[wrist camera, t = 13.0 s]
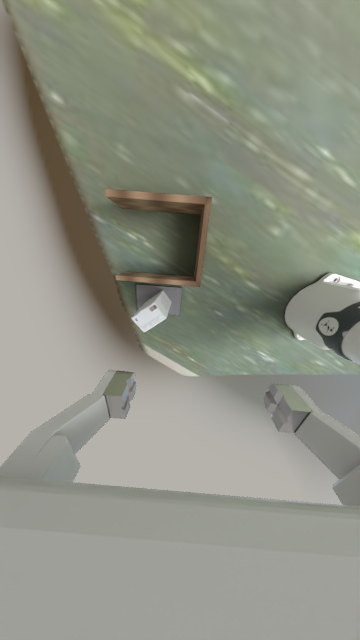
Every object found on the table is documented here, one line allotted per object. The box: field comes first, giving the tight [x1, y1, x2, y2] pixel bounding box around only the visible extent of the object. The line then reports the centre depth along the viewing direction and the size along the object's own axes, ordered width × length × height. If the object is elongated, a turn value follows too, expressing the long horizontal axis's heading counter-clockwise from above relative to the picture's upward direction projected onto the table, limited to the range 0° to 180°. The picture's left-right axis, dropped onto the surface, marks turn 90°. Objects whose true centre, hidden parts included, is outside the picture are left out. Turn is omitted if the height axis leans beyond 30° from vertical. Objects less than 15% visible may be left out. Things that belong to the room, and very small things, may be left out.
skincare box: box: [131, 290, 172, 333], centre depth 33 cm, size 6×4×12 cm
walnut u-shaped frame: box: [105, 189, 212, 287], centre depth 30 cm, size 18×15×7 cm
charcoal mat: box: [136, 284, 182, 316], centre depth 39 cm, size 12×8×1 cm, turn 86°
